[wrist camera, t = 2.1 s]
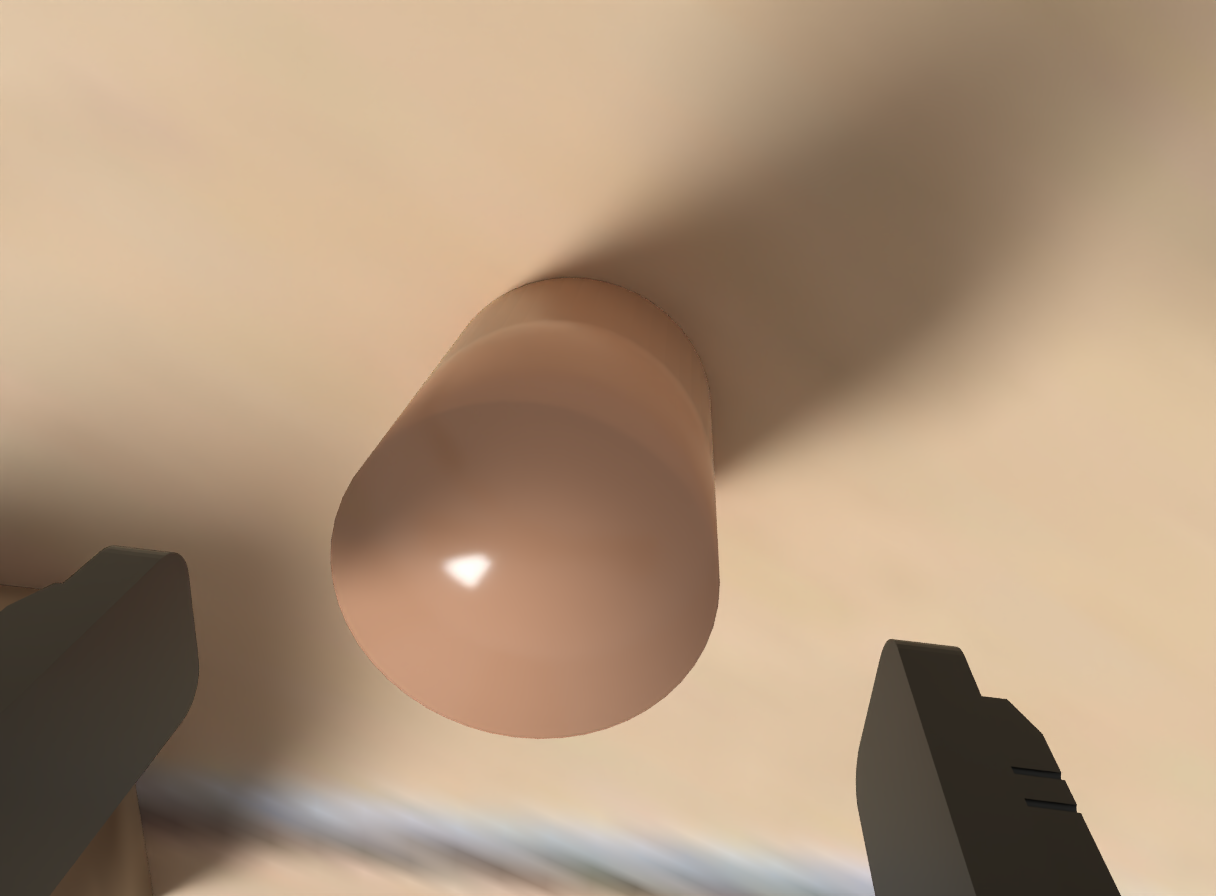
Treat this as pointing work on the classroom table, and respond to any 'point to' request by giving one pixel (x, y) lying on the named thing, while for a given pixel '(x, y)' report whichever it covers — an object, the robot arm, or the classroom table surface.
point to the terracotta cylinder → (540, 518)
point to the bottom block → (104, 836)
